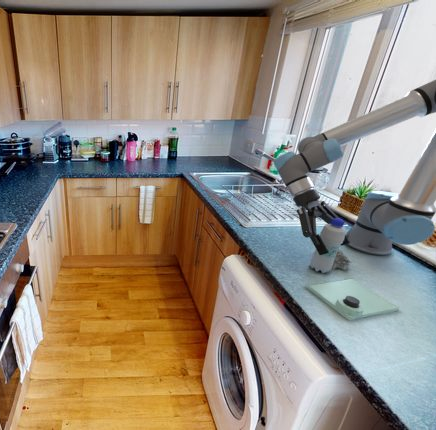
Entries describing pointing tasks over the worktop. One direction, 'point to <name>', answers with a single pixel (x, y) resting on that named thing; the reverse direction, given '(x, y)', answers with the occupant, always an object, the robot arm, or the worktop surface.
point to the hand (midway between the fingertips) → (335, 249)
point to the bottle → (329, 245)
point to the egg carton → (341, 261)
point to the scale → (340, 289)
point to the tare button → (351, 301)
